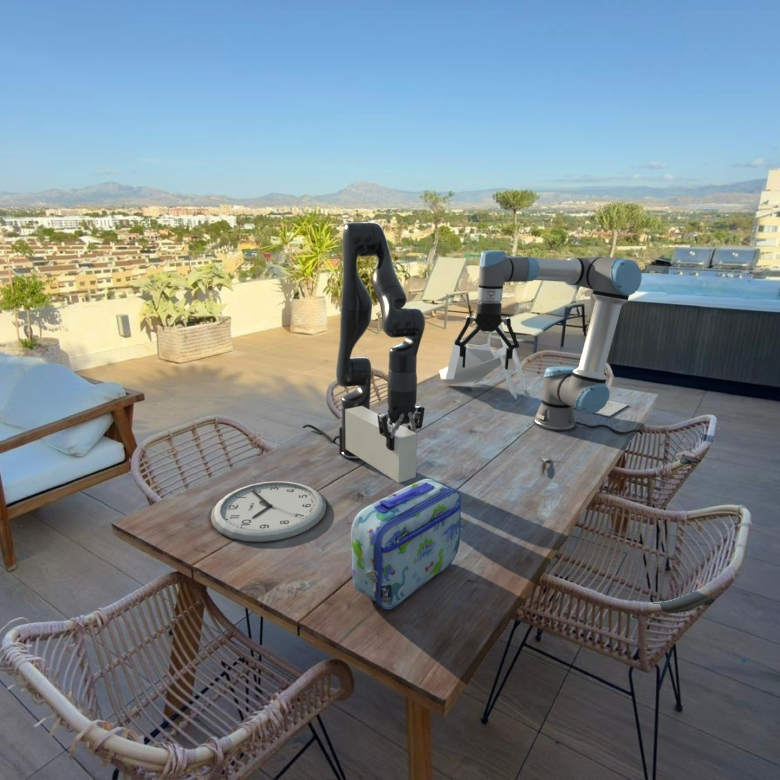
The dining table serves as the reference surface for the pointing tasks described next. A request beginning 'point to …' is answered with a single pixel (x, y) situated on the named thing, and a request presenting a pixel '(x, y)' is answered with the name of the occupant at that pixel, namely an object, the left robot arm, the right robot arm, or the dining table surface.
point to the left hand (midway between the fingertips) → (400, 446)
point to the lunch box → (405, 541)
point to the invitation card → (611, 408)
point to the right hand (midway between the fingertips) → (484, 367)
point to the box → (380, 444)
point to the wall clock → (268, 511)
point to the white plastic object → (480, 365)
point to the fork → (545, 460)
